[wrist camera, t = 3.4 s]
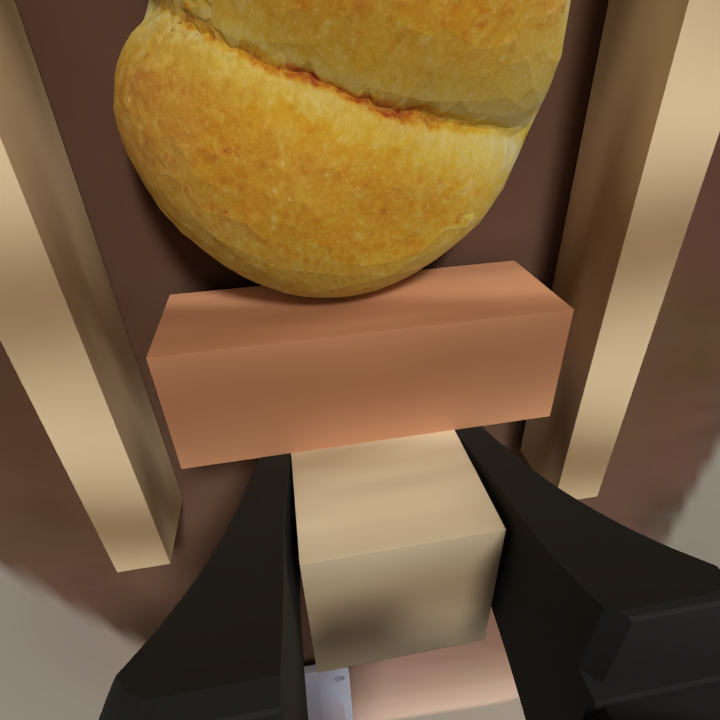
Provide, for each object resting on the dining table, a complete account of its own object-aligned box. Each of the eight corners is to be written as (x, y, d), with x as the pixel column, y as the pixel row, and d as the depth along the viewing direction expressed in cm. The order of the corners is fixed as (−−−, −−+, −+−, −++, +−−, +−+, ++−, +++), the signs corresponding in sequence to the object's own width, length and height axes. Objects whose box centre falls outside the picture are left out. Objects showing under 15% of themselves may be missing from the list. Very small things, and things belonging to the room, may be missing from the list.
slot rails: (558, 444, 18) (597, 496, 16) (136, 505, 16) (117, 571, 14) (716, -180, 9) (846, -247, 7) (-156, -195, 8) (-316, -288, 5)
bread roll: (111, 213, 12) (47, 279, 8) (192, -338, 8) (130, -649, 4) (417, 308, 14) (463, 387, 11) (598, -62, 10) (759, -117, 7)
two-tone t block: (486, 452, 17) (581, 620, 12) (222, 492, 16) (205, 695, 11) (514, 260, 13) (669, 387, 8) (170, 294, 12) (105, 466, 7)
